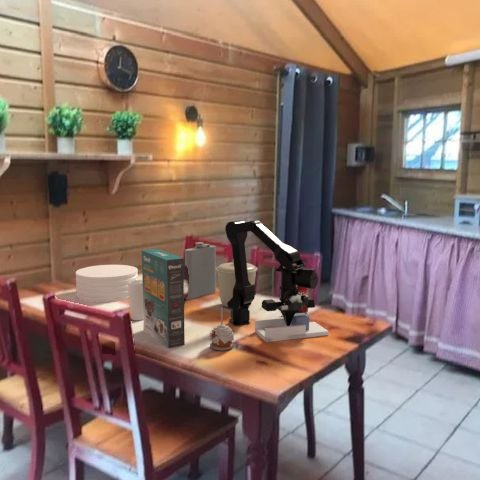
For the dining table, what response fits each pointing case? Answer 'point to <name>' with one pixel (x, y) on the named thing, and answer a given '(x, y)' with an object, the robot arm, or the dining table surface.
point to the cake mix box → (163, 296)
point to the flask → (201, 270)
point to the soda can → (303, 292)
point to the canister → (231, 280)
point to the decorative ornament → (221, 336)
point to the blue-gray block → (300, 320)
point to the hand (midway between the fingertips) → (288, 326)
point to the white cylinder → (136, 299)
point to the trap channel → (286, 330)
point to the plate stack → (104, 282)
